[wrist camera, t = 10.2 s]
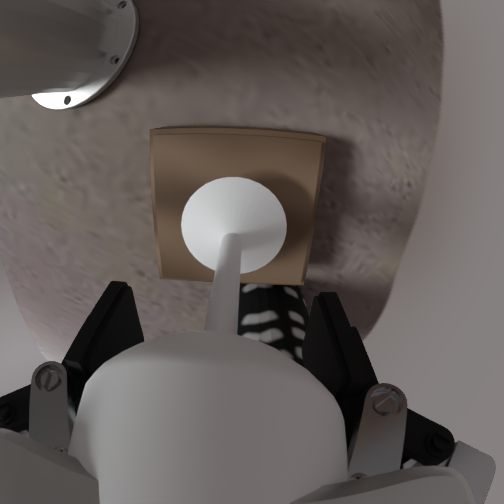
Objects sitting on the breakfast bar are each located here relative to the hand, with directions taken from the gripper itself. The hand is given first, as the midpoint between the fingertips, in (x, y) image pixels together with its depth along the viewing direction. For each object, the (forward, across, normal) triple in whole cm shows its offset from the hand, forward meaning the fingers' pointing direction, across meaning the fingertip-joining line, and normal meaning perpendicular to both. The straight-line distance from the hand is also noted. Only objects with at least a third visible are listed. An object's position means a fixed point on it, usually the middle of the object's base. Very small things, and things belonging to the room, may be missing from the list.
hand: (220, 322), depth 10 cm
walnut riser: (+15, 0, 0) cm, 15 cm away
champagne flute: (+9, 0, 0) cm, 9 cm away
